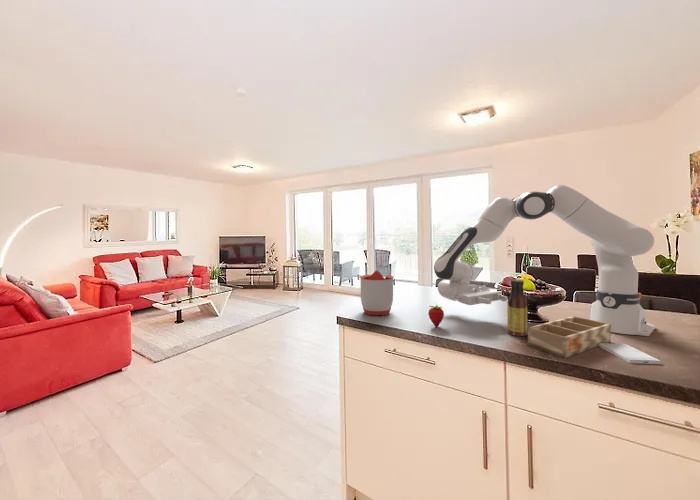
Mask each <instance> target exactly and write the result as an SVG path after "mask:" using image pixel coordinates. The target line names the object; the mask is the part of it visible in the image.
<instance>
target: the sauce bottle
mask: <svg viewBox="0 0 700 500" xmlns="http://www.w3.org/2000/svg"><path fill="white" fill-rule="evenodd" d="M524 284H525V281H524V280H523V279H511V280H510V286H511V287H510V289H511V290H510V291H511V292H510V294H509V296H508V300H507V305H506V306H507V333H509V334H510V335H512V336H516V337H525V336H527V335H528V299H527V297H526V295H525V294H524Z"/></svg>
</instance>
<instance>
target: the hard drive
mask: <svg viewBox="0 0 700 500" xmlns="http://www.w3.org/2000/svg"><path fill="white" fill-rule="evenodd" d="M598 347H599V348H601V349H602V350H605V351H606V352H608V353H610V354H612V355H614V356H616V357H617V358H620V359H621V360H623V361H626V362H627V363H629V364H644V365H646V364H647V365H649V364H650V365H663V361H662V360H660V359H658V358H656V357H653V356H651V355H649V354H647V353H645V352H644V351H641V350H639V349H637V348H636V347H632V346H630V345H628V344H627V343H611V342H608V343H599V346H598Z"/></svg>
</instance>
